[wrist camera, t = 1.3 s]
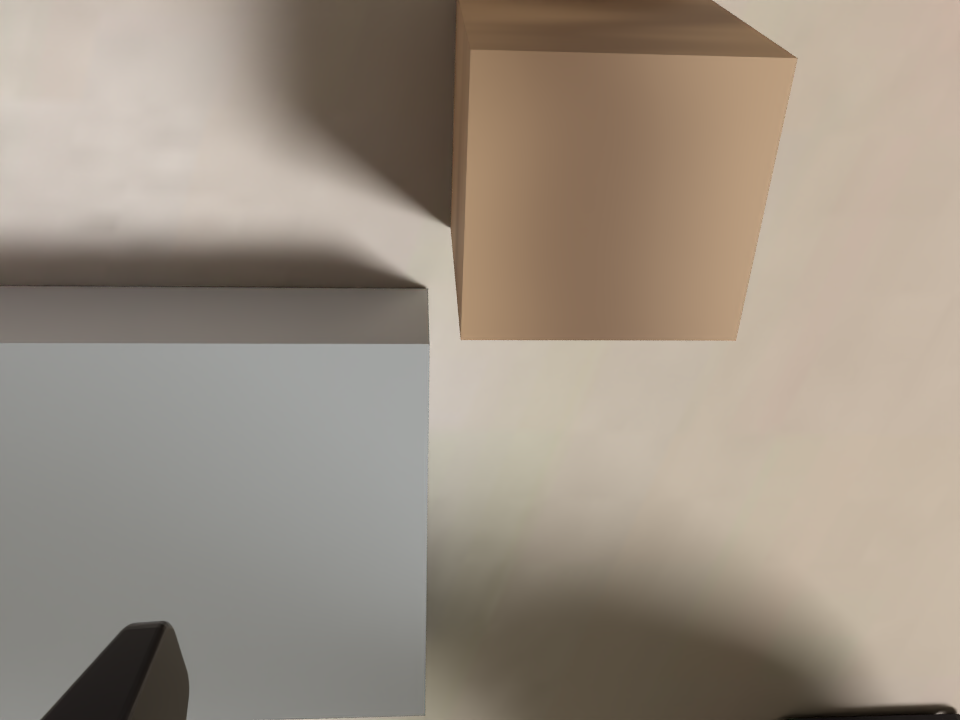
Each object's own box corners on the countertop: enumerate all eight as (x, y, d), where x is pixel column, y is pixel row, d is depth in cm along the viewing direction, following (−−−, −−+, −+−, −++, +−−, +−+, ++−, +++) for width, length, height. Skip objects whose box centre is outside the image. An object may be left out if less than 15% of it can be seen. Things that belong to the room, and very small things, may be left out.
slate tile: (427, 288, 21) (429, 344, 19) (424, 643, 27) (425, 715, 25) (-115, 285, 20) (-177, 342, 18) (11, 653, 26) (-24, 727, 24)
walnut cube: (707, -4, 18) (797, 58, 14) (669, 229, 21) (736, 340, 16) (456, -11, 18) (470, 49, 13) (450, 226, 20) (460, 339, 16)
